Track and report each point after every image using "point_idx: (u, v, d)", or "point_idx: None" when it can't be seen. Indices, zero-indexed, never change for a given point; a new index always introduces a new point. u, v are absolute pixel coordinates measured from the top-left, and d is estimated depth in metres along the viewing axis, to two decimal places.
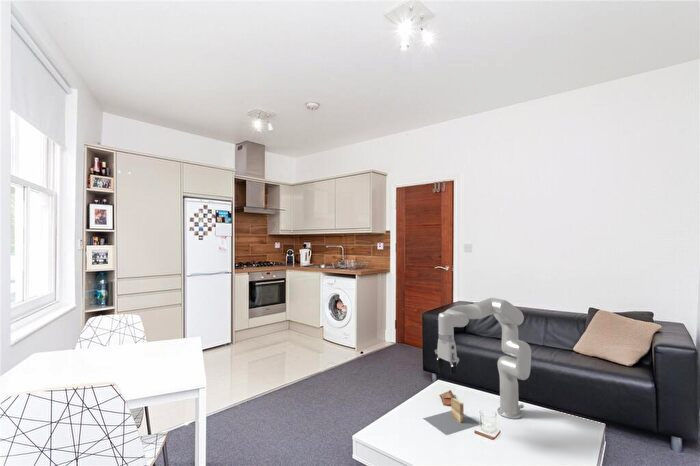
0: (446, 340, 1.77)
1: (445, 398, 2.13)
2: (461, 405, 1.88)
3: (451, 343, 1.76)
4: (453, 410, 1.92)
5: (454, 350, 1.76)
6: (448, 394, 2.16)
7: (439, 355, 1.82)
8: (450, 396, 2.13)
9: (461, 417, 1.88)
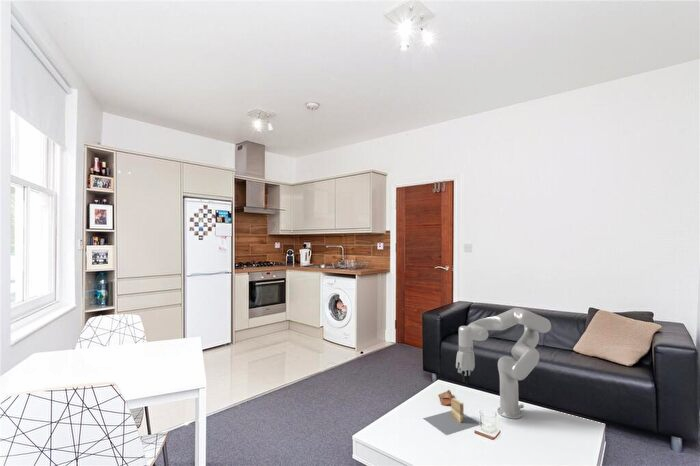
0: (472, 350, 1.94)
1: (443, 398, 2.13)
2: (461, 405, 1.88)
3: None
4: (453, 410, 1.92)
5: None
6: (446, 394, 2.16)
7: (464, 368, 1.92)
8: (448, 396, 2.13)
9: (461, 417, 1.88)
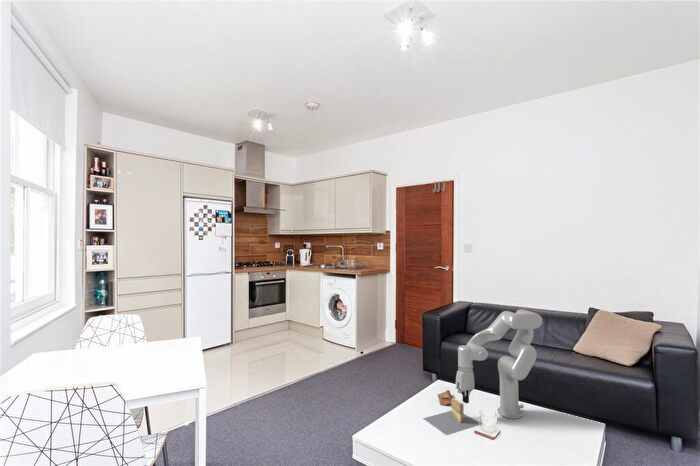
0: None
1: (442, 398, 2.13)
2: (461, 405, 1.88)
3: None
4: (453, 410, 1.92)
5: None
6: (446, 394, 2.17)
7: (464, 389, 1.91)
8: (447, 396, 2.14)
9: (461, 417, 1.88)
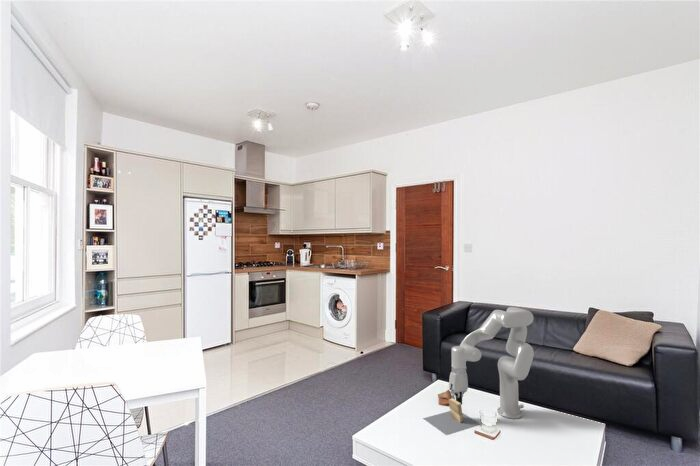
0: (465, 371, 1.92)
1: (441, 398, 2.14)
2: (459, 406, 1.87)
3: None
4: (452, 410, 1.92)
5: None
6: (445, 394, 2.17)
7: (457, 390, 1.89)
8: (447, 396, 2.14)
9: (460, 417, 1.87)
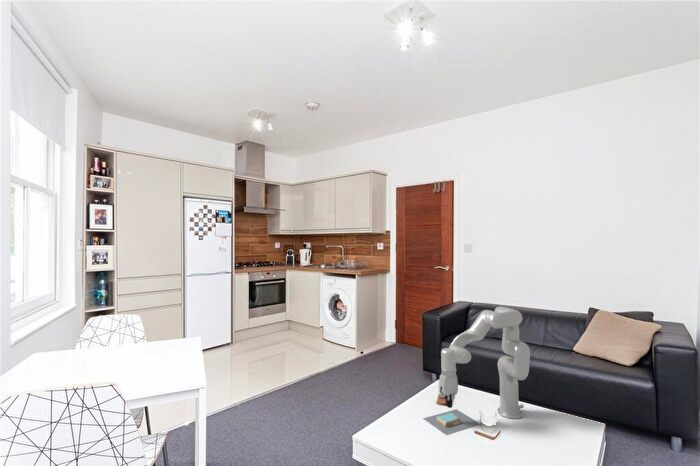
0: (455, 374, 1.88)
1: (440, 397, 2.14)
2: (446, 425, 1.83)
3: None
4: None
5: None
6: None
7: (447, 393, 1.86)
8: None
9: (456, 422, 1.86)
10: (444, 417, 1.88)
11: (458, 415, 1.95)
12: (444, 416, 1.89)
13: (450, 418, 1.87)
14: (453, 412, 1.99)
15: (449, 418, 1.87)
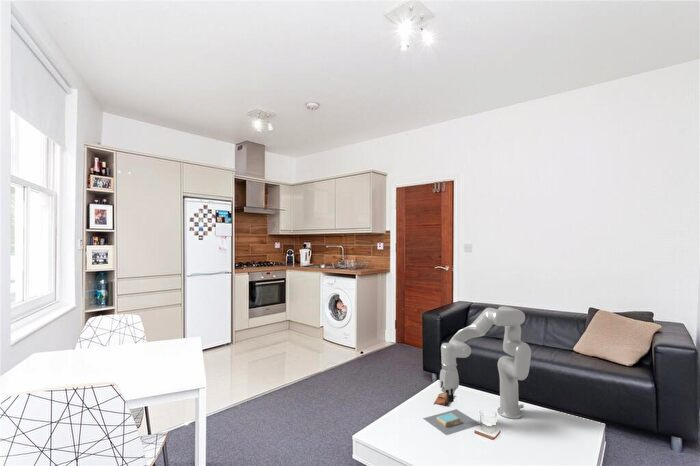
0: None
1: (439, 397, 2.15)
2: (446, 425, 1.83)
3: None
4: None
5: None
6: (444, 394, 2.17)
7: (448, 387, 1.86)
8: (444, 396, 2.14)
9: (456, 422, 1.86)
10: (444, 417, 1.88)
11: (458, 415, 1.95)
12: (444, 416, 1.89)
13: (450, 418, 1.87)
14: (453, 412, 1.99)
15: (449, 418, 1.87)
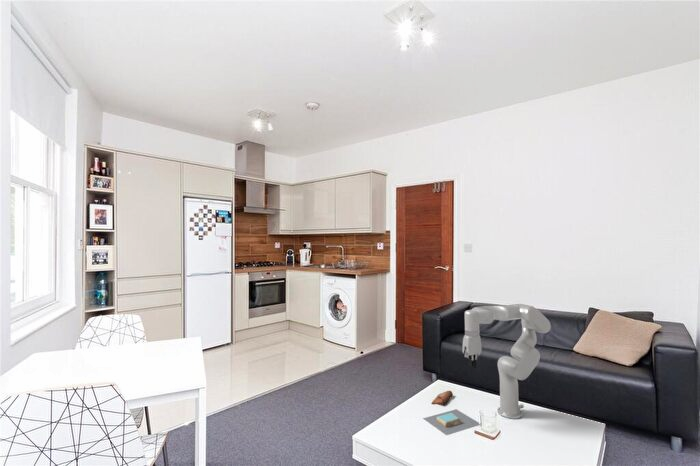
0: None
1: (438, 396, 2.15)
2: (446, 425, 1.83)
3: None
4: None
5: None
6: (443, 393, 2.17)
7: (471, 353, 1.89)
8: (443, 395, 2.14)
9: (456, 422, 1.86)
10: (444, 417, 1.88)
11: (458, 415, 1.95)
12: (444, 416, 1.89)
13: (450, 418, 1.87)
14: (453, 412, 1.99)
15: (449, 418, 1.87)
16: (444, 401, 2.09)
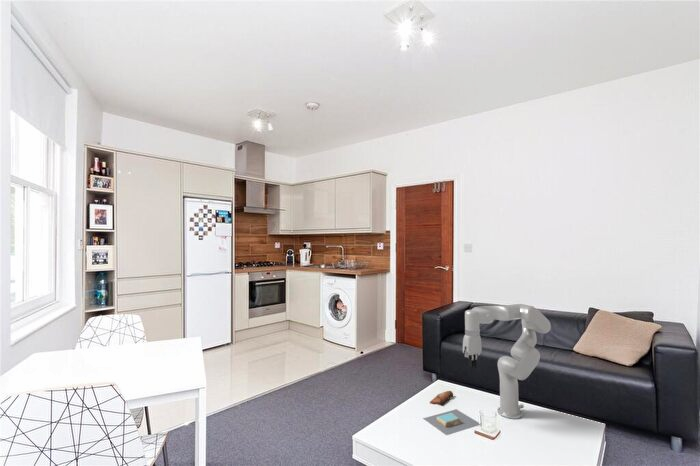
0: (479, 334, 1.91)
1: (437, 396, 2.16)
2: (446, 425, 1.83)
3: None
4: None
5: None
6: (443, 393, 2.17)
7: (471, 352, 1.89)
8: (442, 395, 2.14)
9: (456, 422, 1.86)
10: (444, 417, 1.88)
11: (458, 415, 1.95)
12: (444, 416, 1.89)
13: (450, 418, 1.87)
14: (453, 412, 1.99)
15: (449, 418, 1.87)
16: (442, 401, 2.09)
